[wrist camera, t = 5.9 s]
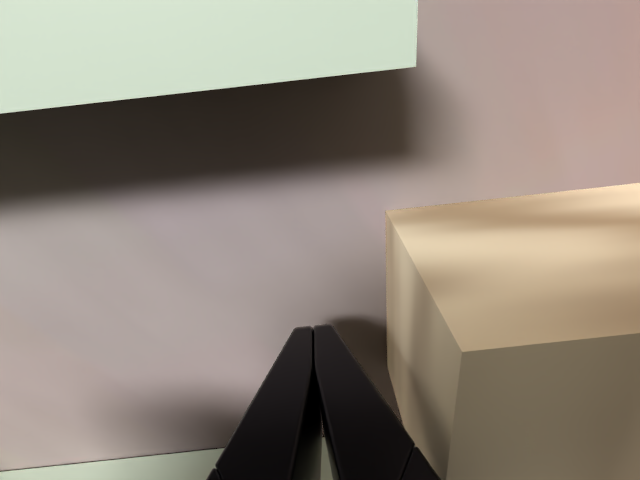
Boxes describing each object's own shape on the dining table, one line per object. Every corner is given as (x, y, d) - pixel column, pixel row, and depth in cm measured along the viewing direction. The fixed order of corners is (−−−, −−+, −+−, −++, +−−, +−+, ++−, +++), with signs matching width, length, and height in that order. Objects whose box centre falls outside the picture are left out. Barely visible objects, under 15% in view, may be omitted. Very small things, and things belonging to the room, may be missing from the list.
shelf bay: (-66, 499, 12) (-168, 622, 10) (-547, 87, 6) (-1217, 113, 3) (380, 452, 12) (402, 563, 10) (366, -17, 6) (420, -78, 3)
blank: (385, 361, 10) (437, 549, 6) (383, 207, 8) (462, 352, 4) (653, 332, 10) (870, 503, 6) (727, 169, 8) (1142, 279, 4)
